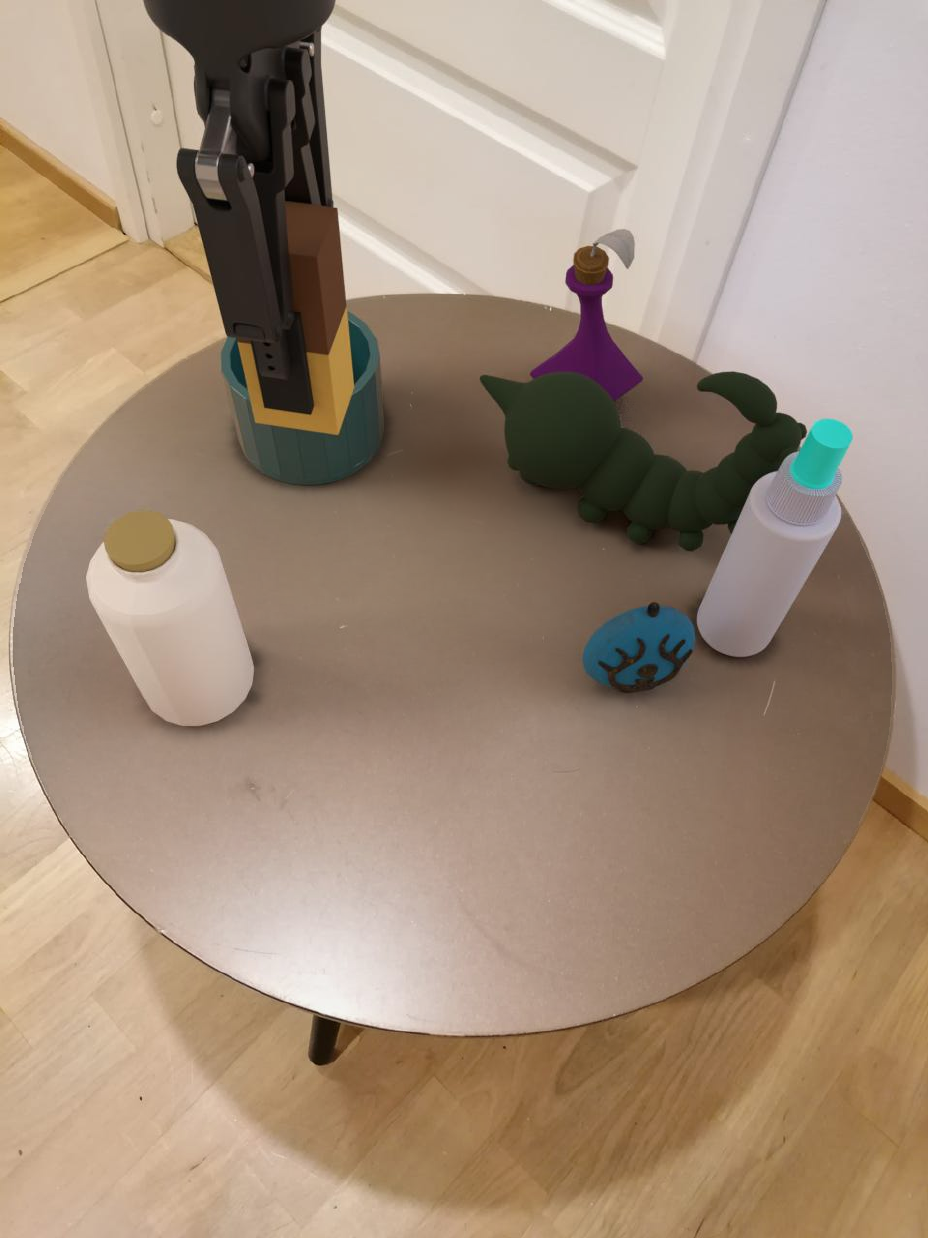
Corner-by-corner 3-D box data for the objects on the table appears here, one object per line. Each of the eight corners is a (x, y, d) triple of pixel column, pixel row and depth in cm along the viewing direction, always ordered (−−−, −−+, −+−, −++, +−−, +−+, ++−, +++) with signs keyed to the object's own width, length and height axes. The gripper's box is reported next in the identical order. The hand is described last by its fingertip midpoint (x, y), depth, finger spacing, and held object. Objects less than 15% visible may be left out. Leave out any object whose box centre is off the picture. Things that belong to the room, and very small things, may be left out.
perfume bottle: (525, 399, 88) (545, 228, 73) (580, 362, 91) (609, 191, 76) (583, 443, 85) (616, 276, 70) (637, 404, 88) (680, 235, 73)
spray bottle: (770, 602, 76) (879, 404, 58) (771, 665, 73) (886, 477, 55) (696, 590, 77) (780, 391, 58) (693, 653, 74) (782, 462, 55)
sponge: (338, 435, 54) (317, 257, 44) (255, 422, 55) (215, 243, 45) (354, 387, 57) (337, 207, 46) (274, 375, 57) (240, 194, 47)
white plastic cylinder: (187, 619, 74) (124, 465, 59) (277, 661, 72) (237, 513, 57) (121, 703, 70) (36, 560, 54) (215, 750, 68) (154, 615, 53)
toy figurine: (743, 525, 83) (491, 409, 86) (840, 369, 66) (526, 234, 70) (708, 604, 78) (444, 478, 82) (805, 457, 62) (469, 308, 65)
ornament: (584, 711, 70) (605, 642, 62) (570, 658, 73) (588, 586, 64) (689, 696, 71) (724, 627, 63) (672, 645, 74) (703, 571, 65)
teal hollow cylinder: (221, 474, 82) (200, 399, 74) (260, 372, 89) (245, 293, 81) (367, 494, 81) (361, 420, 74) (395, 389, 88) (392, 311, 81)
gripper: (257, 19, 29) (327, 500, 49) (376, -182, 39) (395, 291, 58) (29, -8, 30) (189, 478, 50) (200, -200, 39) (278, 275, 59)
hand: (300, 377), depth 54 cm, fingers closed on sponge, 4 cm apart
